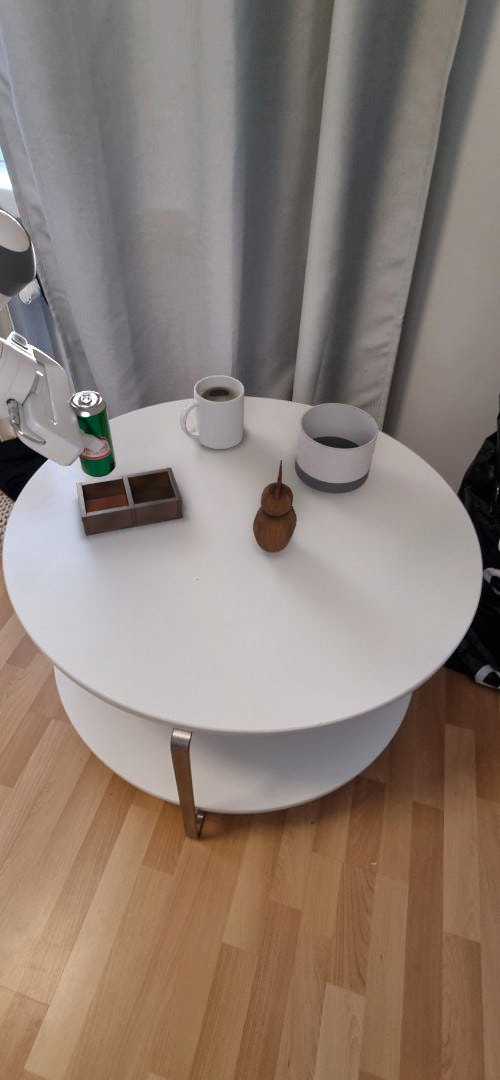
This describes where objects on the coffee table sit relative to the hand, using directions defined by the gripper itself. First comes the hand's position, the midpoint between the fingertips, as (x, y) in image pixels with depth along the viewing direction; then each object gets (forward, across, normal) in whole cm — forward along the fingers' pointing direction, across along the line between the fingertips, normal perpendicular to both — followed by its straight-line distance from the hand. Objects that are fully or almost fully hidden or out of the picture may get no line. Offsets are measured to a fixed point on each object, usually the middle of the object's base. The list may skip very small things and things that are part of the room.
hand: (96, 432), depth 83 cm
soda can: (+4, 0, +5) cm, 7 cm away
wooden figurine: (+27, -14, -5) cm, 31 cm away
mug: (+27, +15, -4) cm, 31 cm away
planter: (+38, -2, -16) cm, 41 cm away
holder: (+14, 0, +9) cm, 16 cm away
